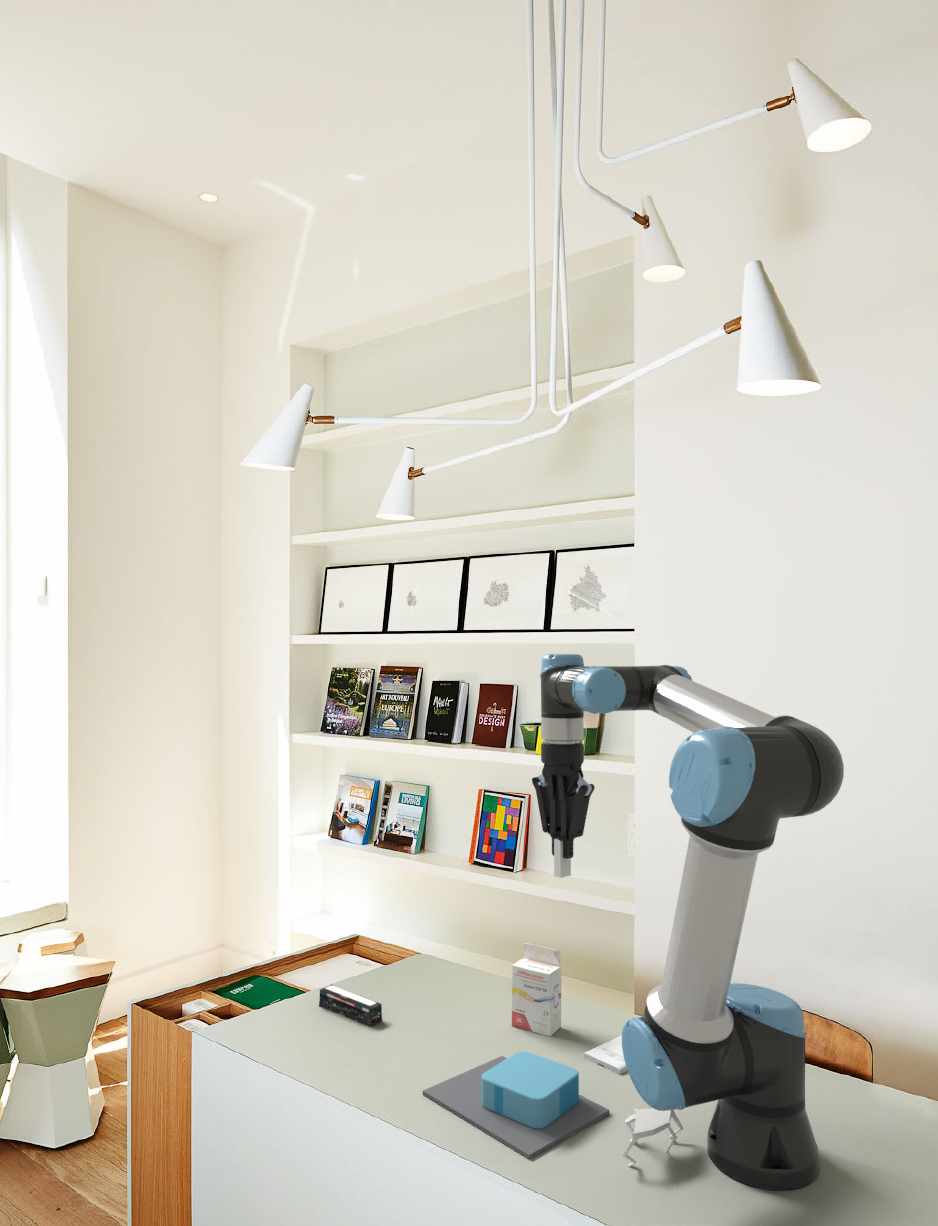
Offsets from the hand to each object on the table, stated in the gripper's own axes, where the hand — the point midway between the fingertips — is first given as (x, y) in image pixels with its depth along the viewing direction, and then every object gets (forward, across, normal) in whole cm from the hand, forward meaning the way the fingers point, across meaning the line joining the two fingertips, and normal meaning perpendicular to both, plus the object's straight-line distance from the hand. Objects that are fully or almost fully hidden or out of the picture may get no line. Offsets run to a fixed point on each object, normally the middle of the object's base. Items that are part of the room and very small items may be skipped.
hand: (562, 875), depth 155 cm
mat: (+32, -4, +16) cm, 36 cm away
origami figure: (+33, -26, +11) cm, 43 cm away
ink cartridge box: (+33, +13, -7) cm, 36 cm away
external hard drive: (+33, -5, -10) cm, 35 cm away
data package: (+30, 0, +16) cm, 33 cm away
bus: (+33, +40, +17) cm, 54 cm away
